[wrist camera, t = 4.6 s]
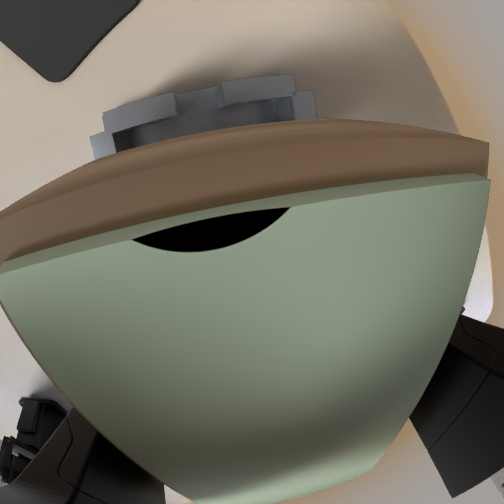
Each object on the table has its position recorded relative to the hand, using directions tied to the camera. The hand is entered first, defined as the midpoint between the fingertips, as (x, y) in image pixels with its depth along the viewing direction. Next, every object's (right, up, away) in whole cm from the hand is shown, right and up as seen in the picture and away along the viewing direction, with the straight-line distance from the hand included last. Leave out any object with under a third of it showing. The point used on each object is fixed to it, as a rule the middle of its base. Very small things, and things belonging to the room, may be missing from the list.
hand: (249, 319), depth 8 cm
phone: (-13, +18, 0) cm, 23 cm away
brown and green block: (0, 0, +1) cm, 1 cm away
